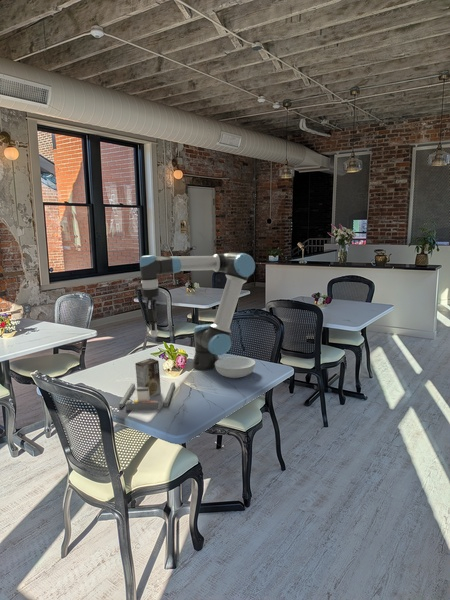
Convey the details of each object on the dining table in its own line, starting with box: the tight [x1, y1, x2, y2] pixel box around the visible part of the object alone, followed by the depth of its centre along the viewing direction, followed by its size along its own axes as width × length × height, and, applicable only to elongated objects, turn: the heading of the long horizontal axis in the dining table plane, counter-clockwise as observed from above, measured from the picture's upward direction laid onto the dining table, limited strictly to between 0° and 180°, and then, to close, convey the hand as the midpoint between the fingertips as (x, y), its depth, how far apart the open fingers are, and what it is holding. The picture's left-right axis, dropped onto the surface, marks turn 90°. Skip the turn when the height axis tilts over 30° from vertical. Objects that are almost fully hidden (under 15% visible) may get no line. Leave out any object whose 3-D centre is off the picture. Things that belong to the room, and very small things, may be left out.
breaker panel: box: [118, 382, 176, 411], centre depth 201 cm, size 21×26×4 cm
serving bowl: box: [215, 356, 256, 379], centre depth 226 cm, size 21×21×7 cm
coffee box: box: [134, 357, 162, 398], centre depth 203 cm, size 9×6×16 cm
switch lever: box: [136, 387, 151, 402], centre depth 192 cm, size 5×4×8 cm
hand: (154, 336), depth 212 cm, fingers closed
